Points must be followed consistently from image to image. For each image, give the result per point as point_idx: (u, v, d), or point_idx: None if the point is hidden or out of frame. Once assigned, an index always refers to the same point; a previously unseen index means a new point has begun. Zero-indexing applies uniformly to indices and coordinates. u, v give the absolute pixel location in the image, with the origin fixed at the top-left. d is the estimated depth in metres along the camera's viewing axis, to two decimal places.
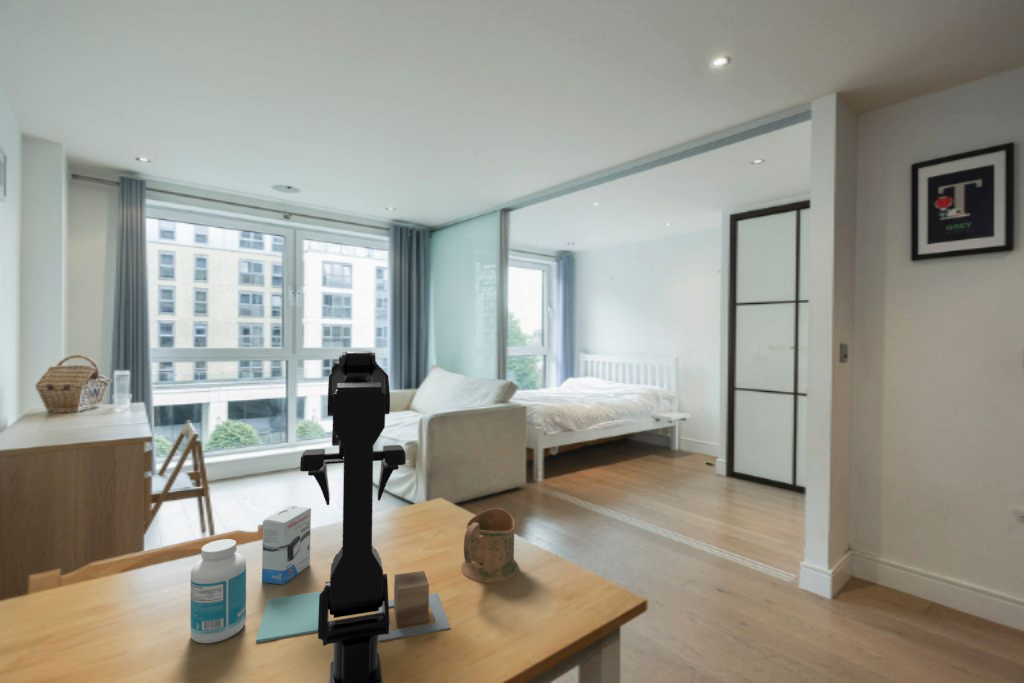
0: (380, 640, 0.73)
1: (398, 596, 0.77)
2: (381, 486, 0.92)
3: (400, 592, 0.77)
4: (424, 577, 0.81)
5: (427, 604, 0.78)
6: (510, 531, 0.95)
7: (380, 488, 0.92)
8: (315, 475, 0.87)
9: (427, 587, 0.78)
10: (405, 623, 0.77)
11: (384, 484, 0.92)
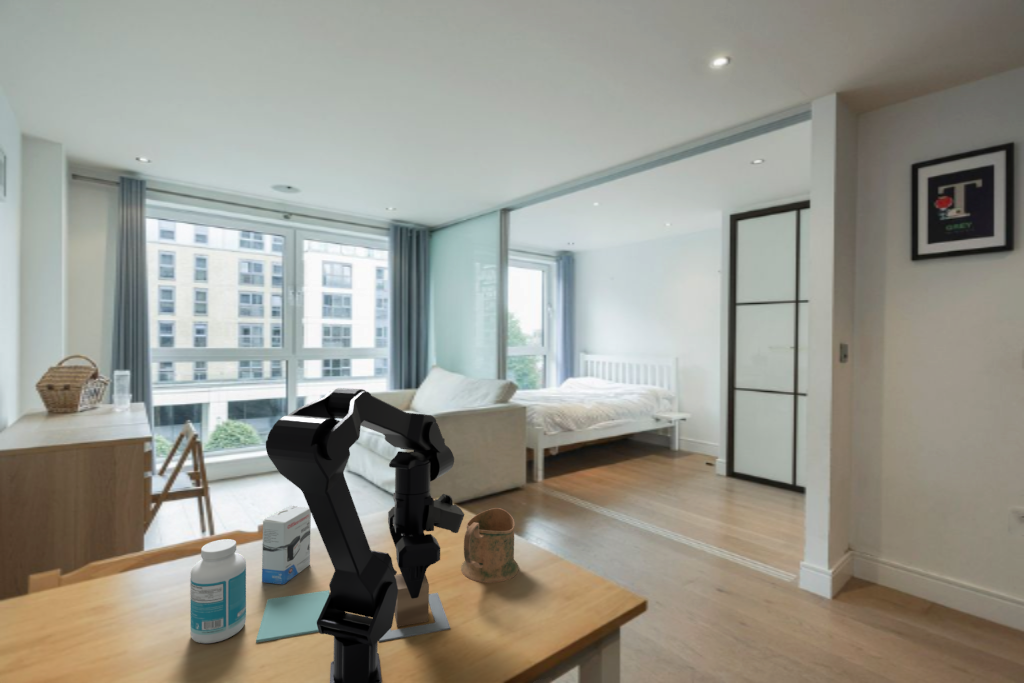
0: (380, 640, 0.73)
1: (398, 596, 0.77)
2: None
3: (400, 592, 0.77)
4: (424, 577, 0.81)
5: (427, 604, 0.78)
6: (510, 531, 0.95)
7: None
8: None
9: (427, 587, 0.78)
10: (405, 623, 0.77)
11: (404, 579, 0.74)
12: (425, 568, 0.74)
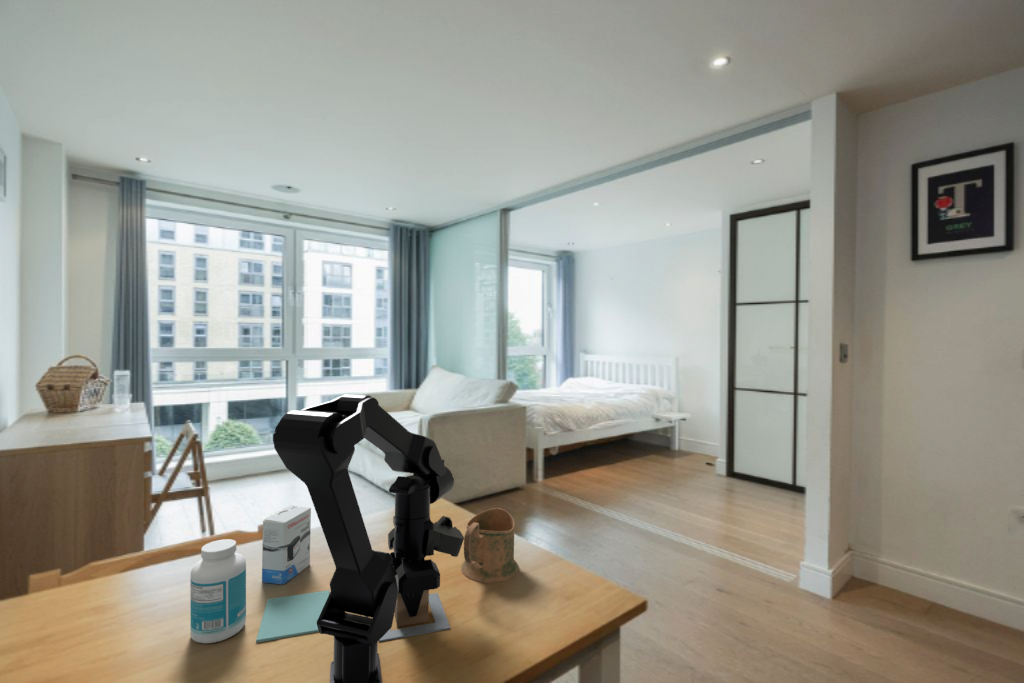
0: (380, 640, 0.73)
1: (398, 596, 0.77)
2: None
3: None
4: None
5: (427, 604, 0.78)
6: (510, 531, 0.95)
7: None
8: None
9: None
10: (405, 623, 0.77)
11: None
12: None
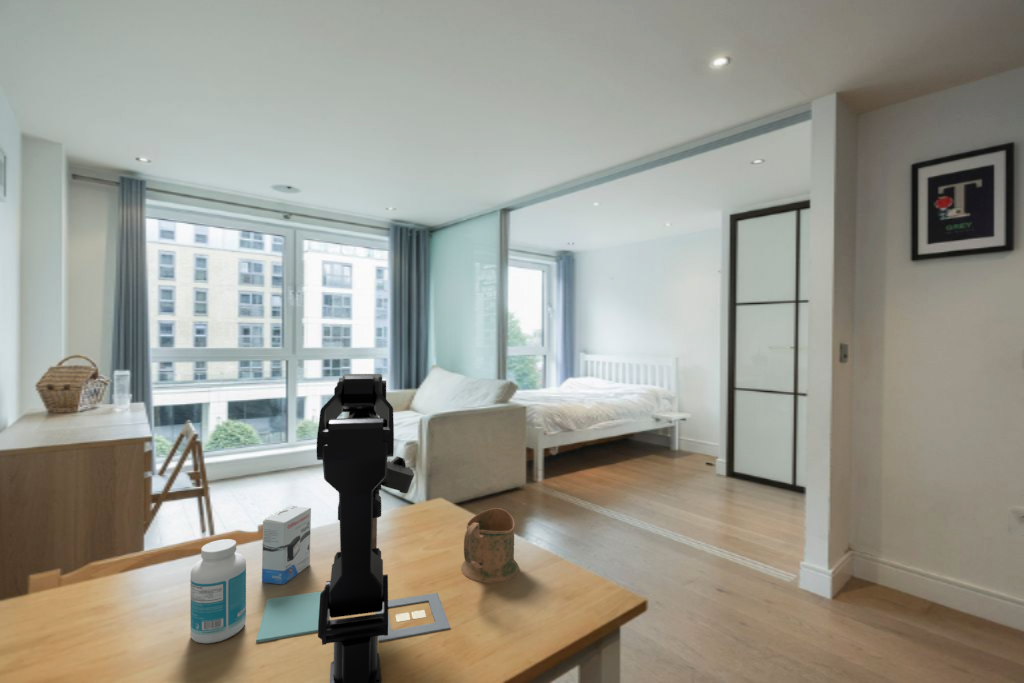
0: (380, 640, 0.73)
1: None
2: None
3: None
4: None
5: (375, 539, 0.78)
6: (510, 531, 0.95)
7: None
8: None
9: (375, 522, 0.78)
10: None
11: None
12: None
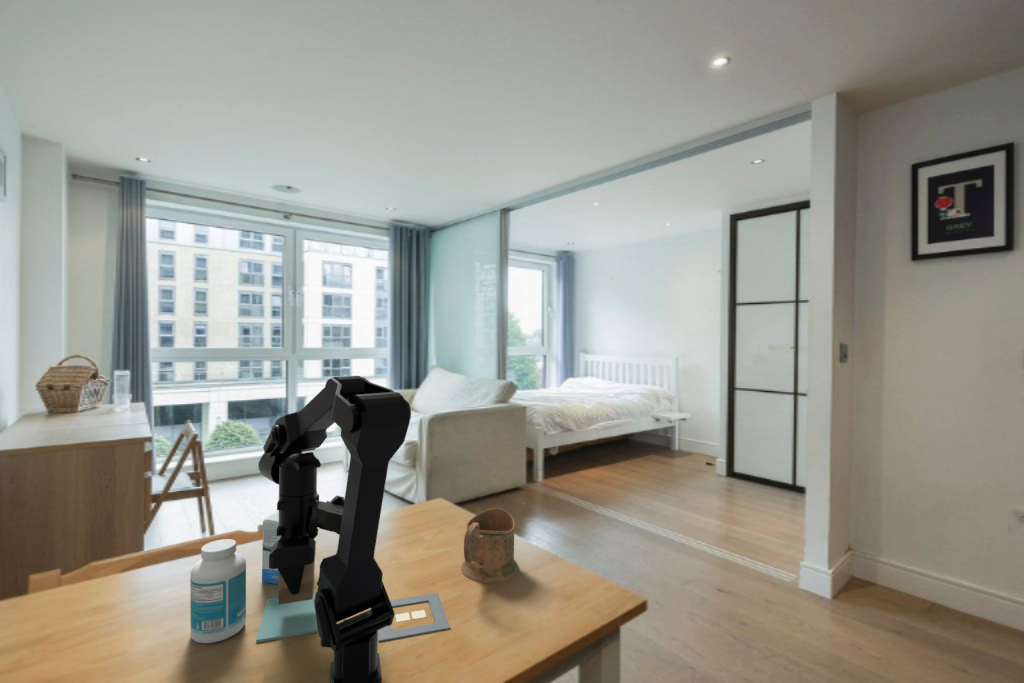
0: (380, 640, 0.73)
1: (279, 573, 0.77)
2: None
3: None
4: None
5: (311, 582, 0.78)
6: (510, 531, 0.95)
7: None
8: None
9: (311, 565, 0.78)
10: (287, 600, 0.77)
11: None
12: (303, 565, 0.76)
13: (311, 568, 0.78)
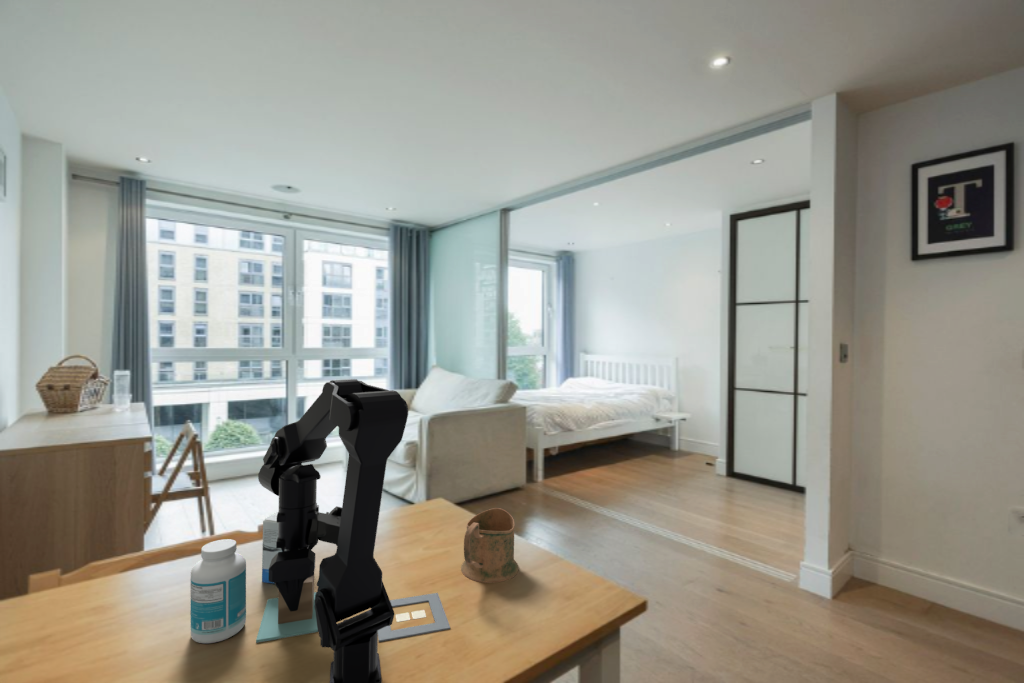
0: (380, 640, 0.73)
1: (279, 593, 0.77)
2: None
3: None
4: None
5: (310, 601, 0.78)
6: (510, 531, 0.95)
7: None
8: None
9: (310, 584, 0.78)
10: (286, 620, 0.77)
11: None
12: (302, 581, 0.74)
13: (311, 587, 0.78)
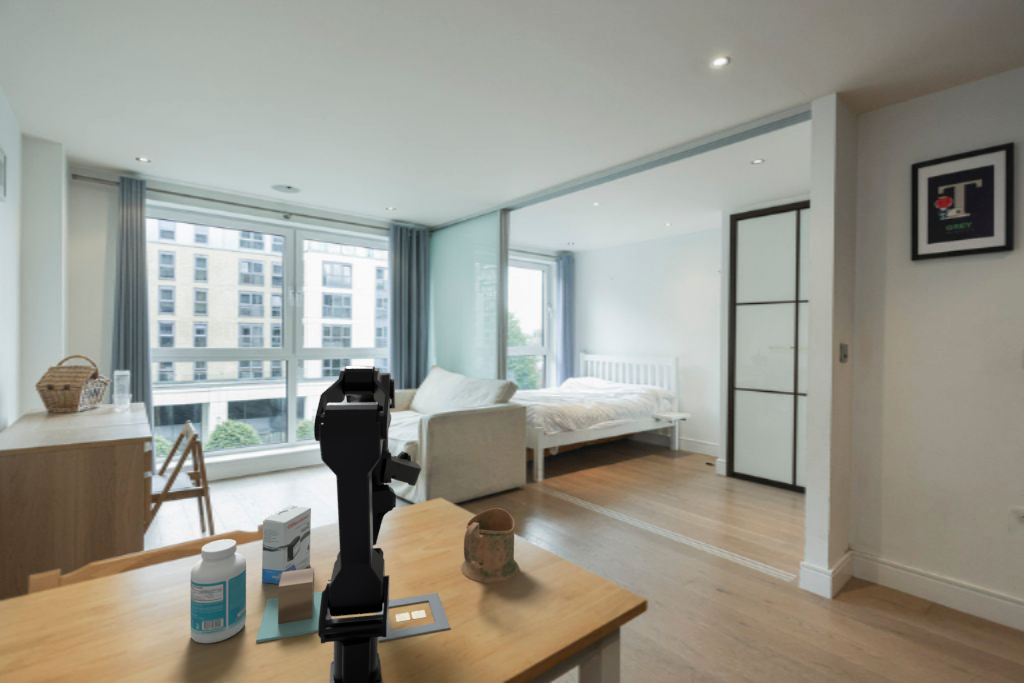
0: (380, 640, 0.73)
1: (279, 593, 0.77)
2: None
3: (281, 589, 0.77)
4: (311, 574, 0.80)
5: (310, 601, 0.78)
6: (510, 531, 0.95)
7: None
8: None
9: (310, 584, 0.78)
10: (286, 620, 0.77)
11: None
12: (382, 516, 0.78)
13: (311, 587, 0.78)
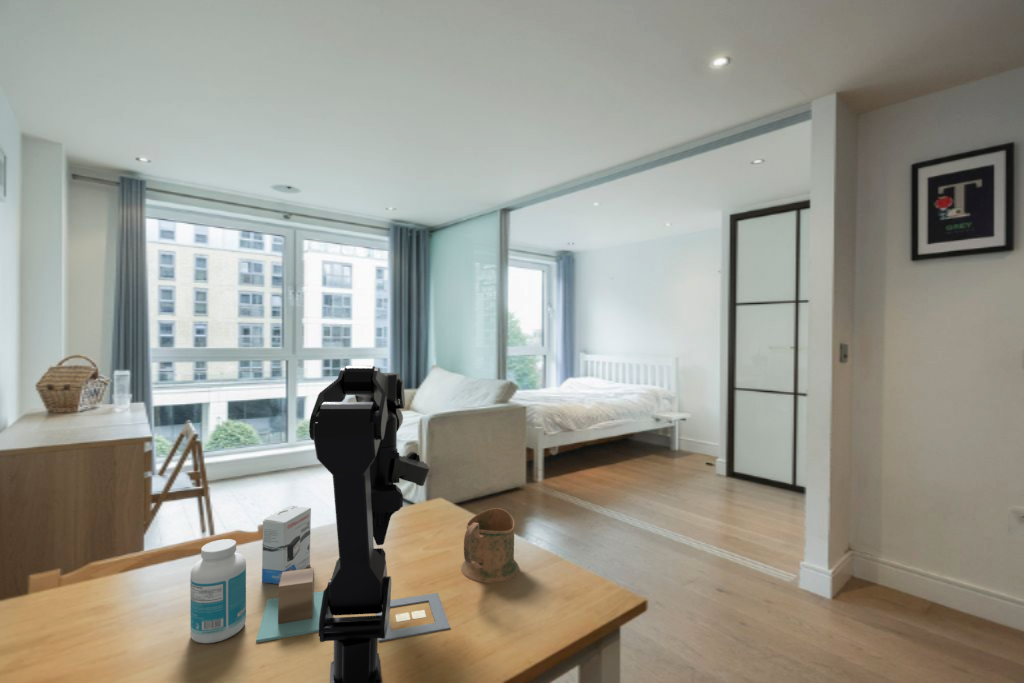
0: (380, 640, 0.73)
1: (279, 593, 0.77)
2: None
3: (281, 589, 0.77)
4: (311, 574, 0.80)
5: (310, 601, 0.78)
6: (510, 531, 0.95)
7: None
8: None
9: (310, 584, 0.78)
10: (286, 620, 0.77)
11: None
12: (389, 516, 0.78)
13: (311, 587, 0.78)
